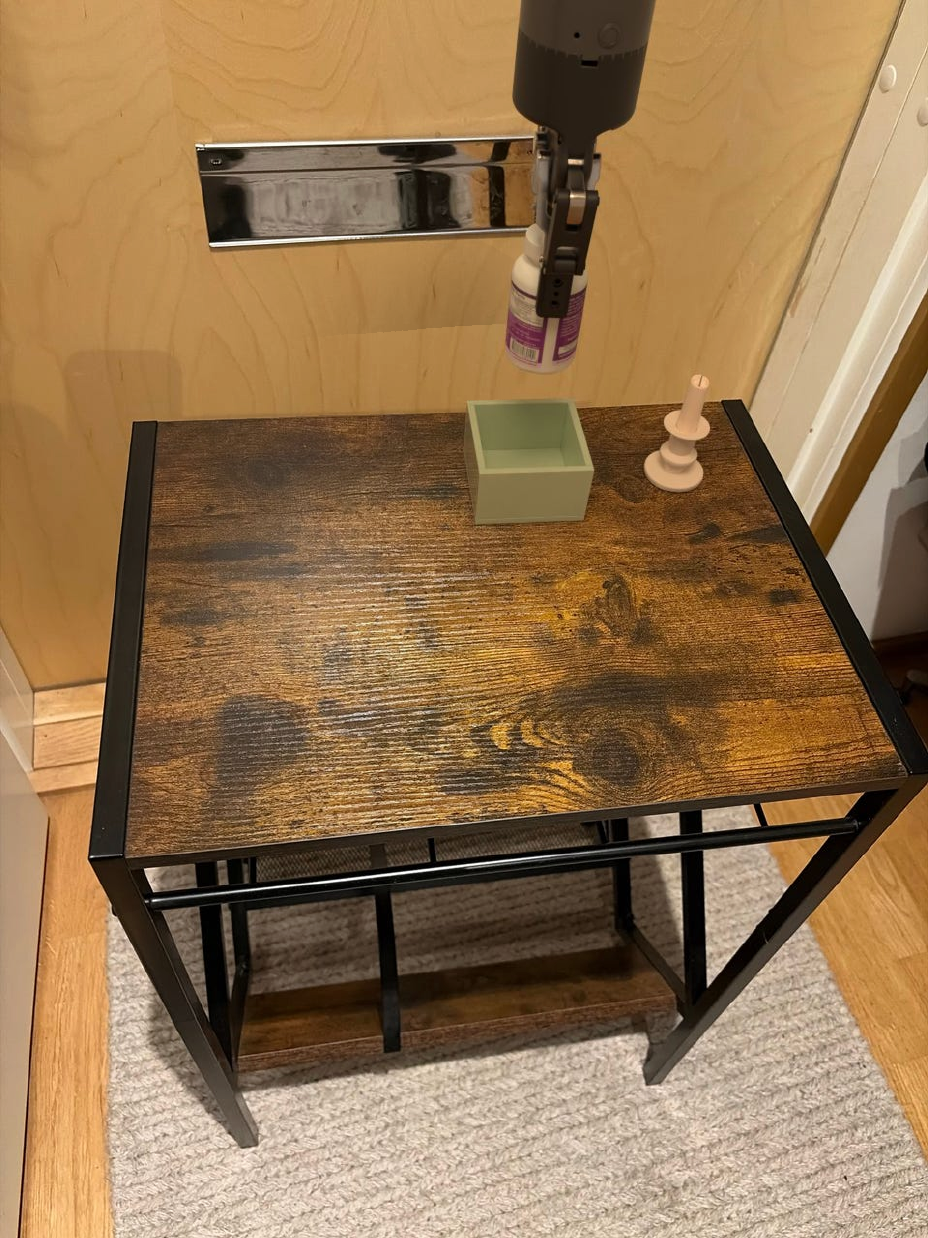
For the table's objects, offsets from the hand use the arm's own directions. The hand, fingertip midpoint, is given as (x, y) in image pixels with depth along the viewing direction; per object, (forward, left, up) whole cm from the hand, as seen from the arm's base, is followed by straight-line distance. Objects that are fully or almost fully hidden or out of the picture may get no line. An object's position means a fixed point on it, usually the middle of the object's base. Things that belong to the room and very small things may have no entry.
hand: (547, 290), depth 67 cm
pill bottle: (0, 0, -6) cm, 6 cm away
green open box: (0, 0, -19) cm, 19 cm away
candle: (+11, -8, -19) cm, 23 cm away
